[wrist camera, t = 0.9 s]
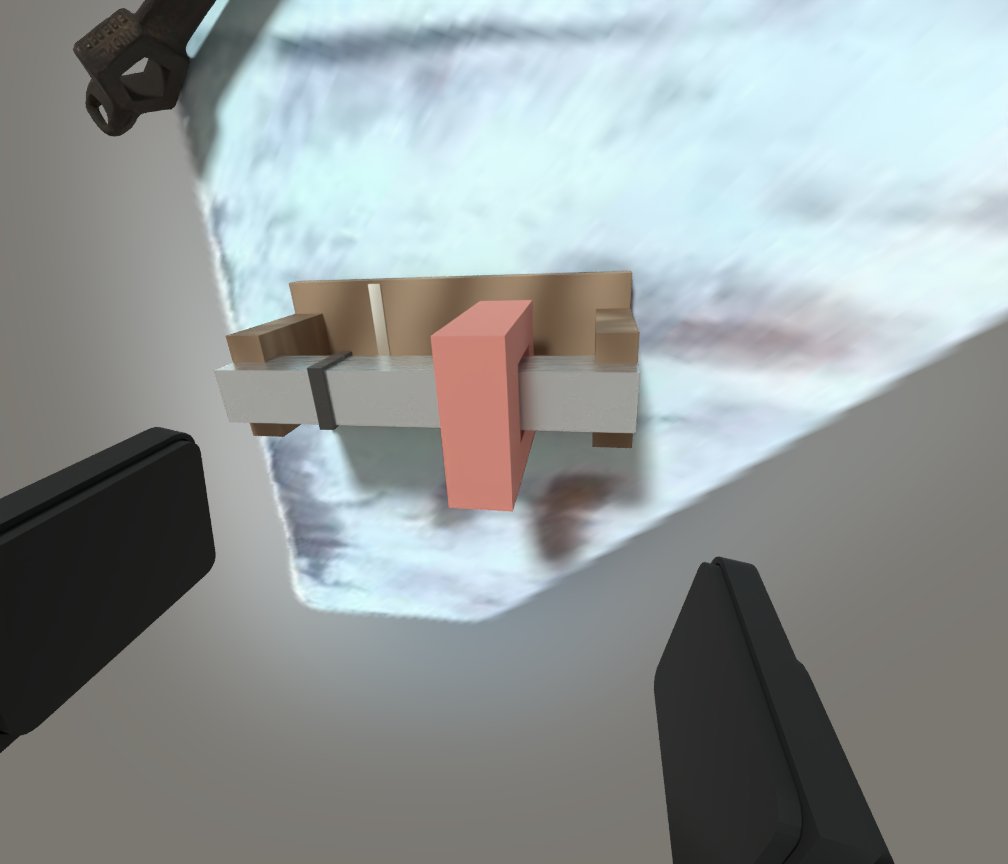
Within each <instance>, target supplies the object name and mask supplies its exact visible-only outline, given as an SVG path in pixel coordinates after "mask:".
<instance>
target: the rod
mask: <svg viewBox="0 0 1008 864" xmlns="http://www.w3.org/2000/svg"><path fill="white" fill-rule="evenodd" d="M214 372H215V375H216V379H217V382H218V385H219V389H220V392H221V396H222V399H223V402H224V405H225V409H226V412H227V416H228V419H229V422H244V423H245V422H247V423H280V424H317V425H319V427H320V430H334V429H336V428H337V427H338V426H339V425H353V426H390V427H426V428H440V420H439V411H438V401H437V392H436V383H435V373H434V364H433V356H353V354H352V351H339V352H337V353H335V354H333V355H331V356H279V357H277V358H275V359H272V360H270V361H268V362H265V363H231V364H228V365H226V366H223V367H221V368H219V369H216V370H214ZM639 380H640V371H639V367H638V364H595V356H522V358H521V360H520V362H519V363H518V382H519V410H520V430H536V431H573V432H609V433H636V423H637V408H638V394H639Z"/></svg>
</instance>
